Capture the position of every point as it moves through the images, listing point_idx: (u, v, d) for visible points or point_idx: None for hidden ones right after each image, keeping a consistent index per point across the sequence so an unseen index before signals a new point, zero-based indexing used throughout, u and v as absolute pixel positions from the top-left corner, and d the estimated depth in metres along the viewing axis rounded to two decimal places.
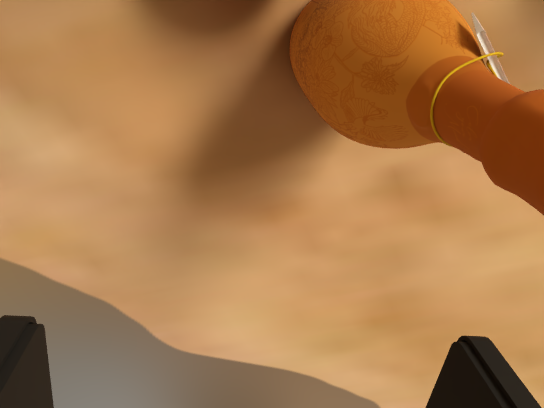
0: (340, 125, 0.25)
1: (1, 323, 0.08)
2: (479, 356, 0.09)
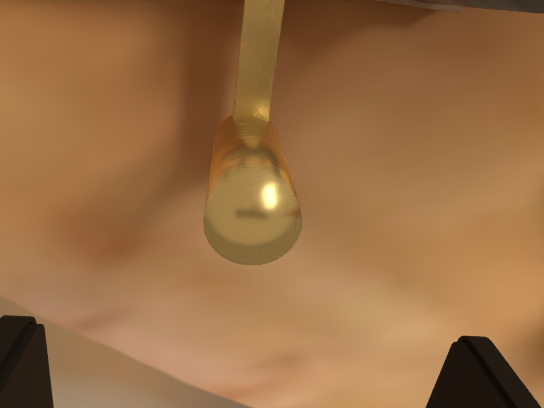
0: None
1: (1, 323, 0.08)
2: (479, 357, 0.09)
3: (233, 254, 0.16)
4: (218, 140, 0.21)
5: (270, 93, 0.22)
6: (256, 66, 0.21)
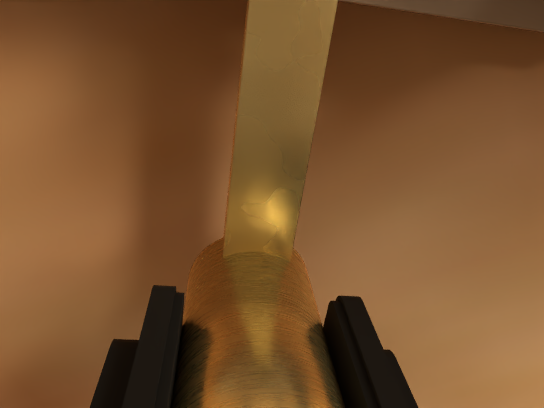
0: None
1: (155, 291, 0.10)
2: (347, 313, 0.10)
3: None
4: (191, 316, 0.10)
5: (296, 209, 0.11)
6: (269, 161, 0.10)
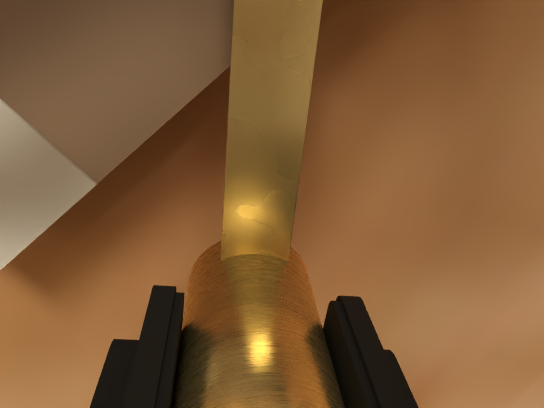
0: None
1: (155, 291, 0.10)
2: (347, 313, 0.10)
3: None
4: (190, 321, 0.10)
5: (291, 210, 0.11)
6: (262, 163, 0.10)
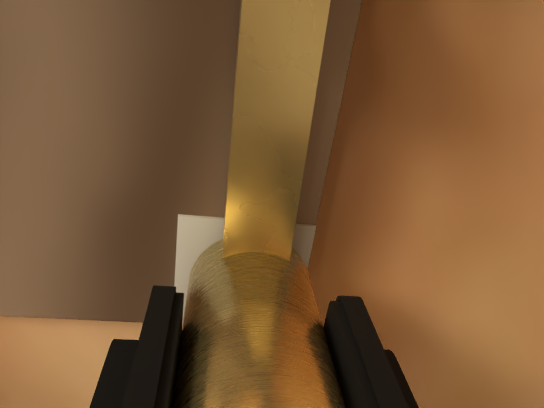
0: None
1: (155, 291, 0.10)
2: (348, 314, 0.10)
3: None
4: (191, 318, 0.10)
5: (294, 209, 0.11)
6: (266, 162, 0.10)
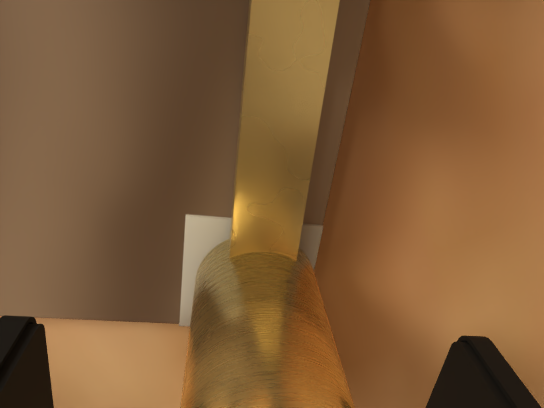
0: None
1: (1, 323, 0.08)
2: (479, 357, 0.09)
3: None
4: (199, 318, 0.10)
5: (302, 209, 0.11)
6: (274, 162, 0.10)
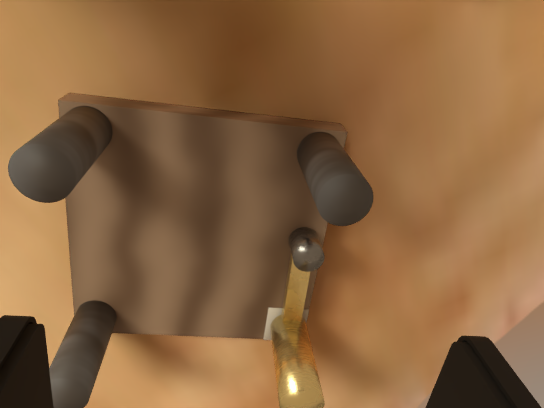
0: None
1: (1, 323, 0.08)
2: (479, 357, 0.09)
3: None
4: (276, 339, 0.40)
5: (302, 309, 0.41)
6: (295, 298, 0.40)
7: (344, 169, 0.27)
